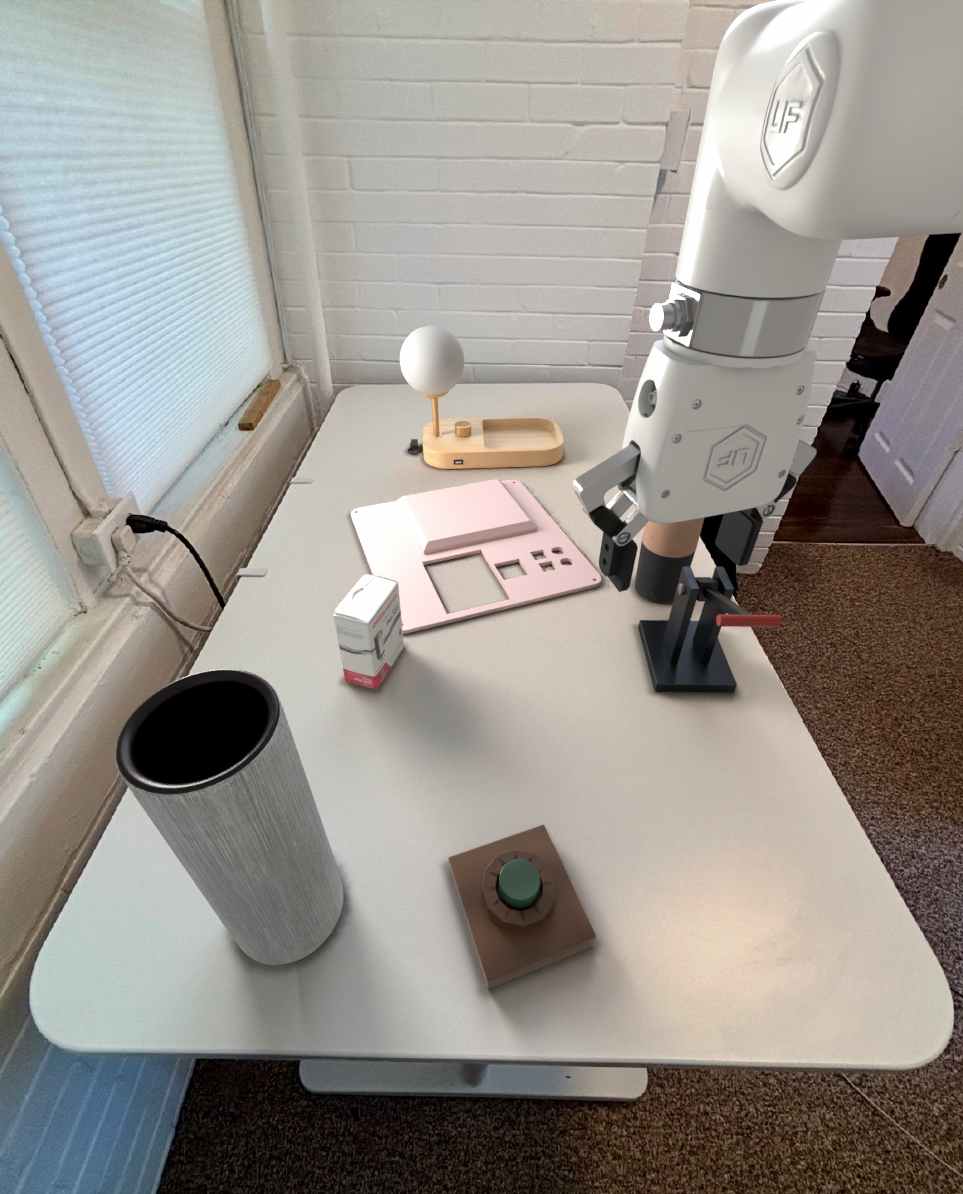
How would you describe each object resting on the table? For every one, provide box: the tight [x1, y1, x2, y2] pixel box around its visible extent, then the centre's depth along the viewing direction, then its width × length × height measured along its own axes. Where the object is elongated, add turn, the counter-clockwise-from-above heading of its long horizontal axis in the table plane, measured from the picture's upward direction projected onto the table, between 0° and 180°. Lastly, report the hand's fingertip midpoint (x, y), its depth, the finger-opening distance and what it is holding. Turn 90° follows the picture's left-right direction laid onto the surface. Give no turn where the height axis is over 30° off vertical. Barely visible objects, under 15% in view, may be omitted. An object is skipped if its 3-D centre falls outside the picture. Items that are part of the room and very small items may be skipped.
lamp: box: [399, 325, 565, 470], centre depth 119 cm, size 33×17×25 cm, turn 93°
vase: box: [114, 668, 345, 966], centre depth 46 cm, size 10×10×27 cm
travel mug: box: [634, 517, 706, 604], centre depth 84 cm, size 8×8×20 cm
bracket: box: [637, 566, 738, 694], centre depth 75 cm, size 12×10×14 cm
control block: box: [448, 824, 597, 990], centre depth 54 cm, size 11×10×4 cm
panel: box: [350, 478, 602, 635], centre depth 99 cm, size 35×33×2 cm
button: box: [499, 859, 540, 909], centre depth 52 cm, size 4×4×2 cm
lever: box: [695, 576, 782, 628], centre depth 66 cm, size 15×6×2 cm, turn 179°
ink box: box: [332, 573, 405, 690], centre depth 75 cm, size 9×5×12 cm, turn 161°
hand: (673, 567), depth 43 cm, fingers open, 9 cm apart
